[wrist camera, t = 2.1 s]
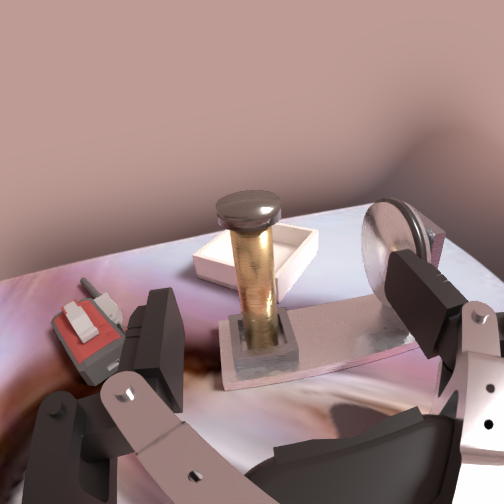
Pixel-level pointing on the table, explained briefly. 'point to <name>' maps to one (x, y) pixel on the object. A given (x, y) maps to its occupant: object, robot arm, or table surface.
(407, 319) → the robot arm
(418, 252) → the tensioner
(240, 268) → the lock pin
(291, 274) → the parts tray
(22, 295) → the table surface
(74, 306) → the walkie-talkie
